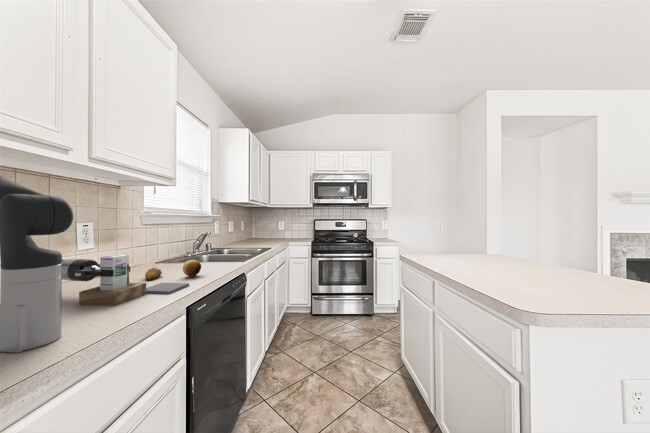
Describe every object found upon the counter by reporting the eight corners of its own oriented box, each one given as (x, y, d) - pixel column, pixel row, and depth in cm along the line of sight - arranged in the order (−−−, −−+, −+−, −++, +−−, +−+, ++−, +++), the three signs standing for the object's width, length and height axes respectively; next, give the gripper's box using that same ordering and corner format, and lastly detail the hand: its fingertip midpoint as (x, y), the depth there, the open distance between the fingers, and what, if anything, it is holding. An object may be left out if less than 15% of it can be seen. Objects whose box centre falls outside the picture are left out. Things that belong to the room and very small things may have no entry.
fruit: (203, 274, 129) (203, 258, 130) (196, 278, 121) (196, 261, 121) (187, 274, 129) (187, 258, 129) (179, 278, 121) (179, 261, 121)
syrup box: (113, 300, 87) (114, 256, 87) (99, 299, 89) (99, 256, 89) (129, 295, 93) (130, 254, 93) (115, 294, 94) (116, 253, 94)
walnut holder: (115, 305, 84) (115, 292, 84) (79, 304, 85) (79, 291, 85) (146, 293, 97) (146, 283, 97) (114, 292, 98) (114, 282, 98)
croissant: (157, 281, 117) (157, 269, 117) (139, 282, 115) (140, 270, 115) (165, 274, 130) (165, 264, 130) (150, 275, 128) (150, 265, 128)
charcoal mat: (169, 294, 96) (169, 291, 96) (139, 293, 98) (139, 290, 98) (189, 285, 108) (189, 283, 108) (162, 284, 109) (162, 282, 109)
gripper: (54, 262, 85) (102, 263, 83) (97, 256, 99) (138, 257, 98) (54, 285, 85) (101, 287, 83) (97, 276, 99) (138, 277, 98)
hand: (121, 271), depth 91 cm, fingers closed on syrup box, 6 cm apart
